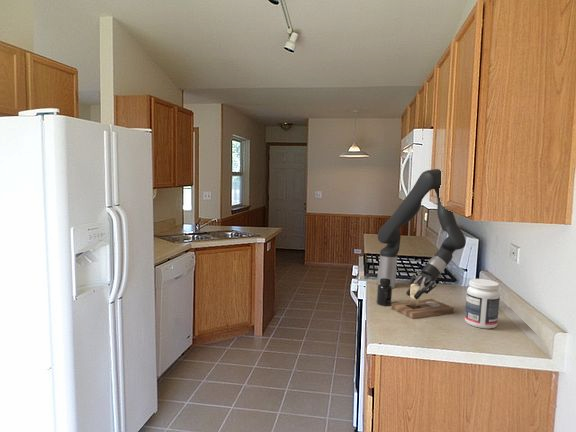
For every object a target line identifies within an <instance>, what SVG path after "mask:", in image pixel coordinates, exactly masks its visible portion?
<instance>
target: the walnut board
mask: <svg viewBox="0 0 576 432" xmlns="http://www.w3.org/2000/svg"><path fill="white" fill-rule="evenodd" d="M391 310H393V311H395V312H397V313H399V314H402V315H403V316H405V317H408V318H409V319H410V320H411V319H413V320H414V319H421V318H427V317H434V316H440V315H446V314H447V315H449V314H453V313H454V310H455V309H454V307H453V306H451V305H448V304H446V303H445V302H441V301H438V300H436V299H434V298H427V299H420V301H419V306H411V305H409V300H408V301H400V302H391Z"/></svg>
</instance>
